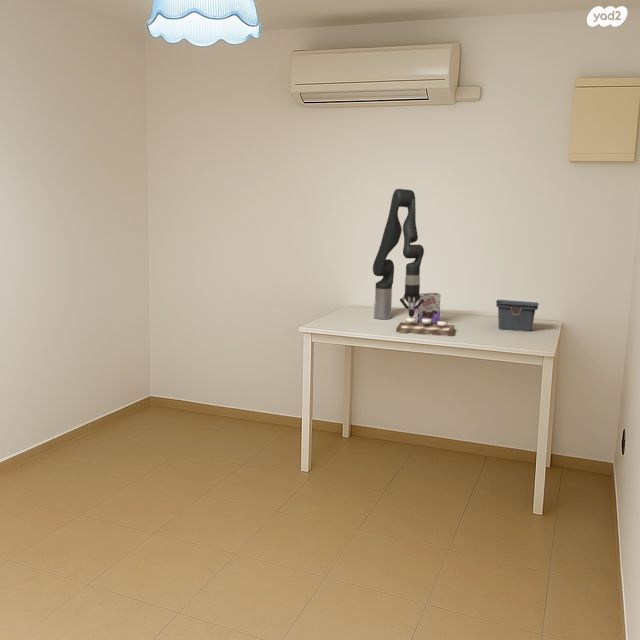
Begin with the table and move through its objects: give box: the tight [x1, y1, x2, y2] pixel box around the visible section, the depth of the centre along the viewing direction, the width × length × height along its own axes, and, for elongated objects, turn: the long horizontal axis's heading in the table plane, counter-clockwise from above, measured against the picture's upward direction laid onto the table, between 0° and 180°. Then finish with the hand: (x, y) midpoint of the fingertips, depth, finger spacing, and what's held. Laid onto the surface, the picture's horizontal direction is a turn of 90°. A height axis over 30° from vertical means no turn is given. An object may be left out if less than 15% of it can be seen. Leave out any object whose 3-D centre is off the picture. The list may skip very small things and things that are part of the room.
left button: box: [405, 316, 416, 323], centre depth 348 cm, size 5×5×2 cm
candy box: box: [412, 292, 441, 324], centre depth 366 cm, size 14×6×16 cm, turn 112°
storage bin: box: [495, 299, 540, 332], centre depth 351 cm, size 21×16×14 cm
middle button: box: [422, 318, 431, 324], centre depth 347 cm, size 5×5×2 cm
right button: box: [436, 320, 448, 327], centre depth 345 cm, size 5×5×2 cm
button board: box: [395, 322, 455, 337], centre depth 344 cm, size 28×16×3 cm, turn 76°
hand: (411, 316), depth 348 cm, fingers closed
